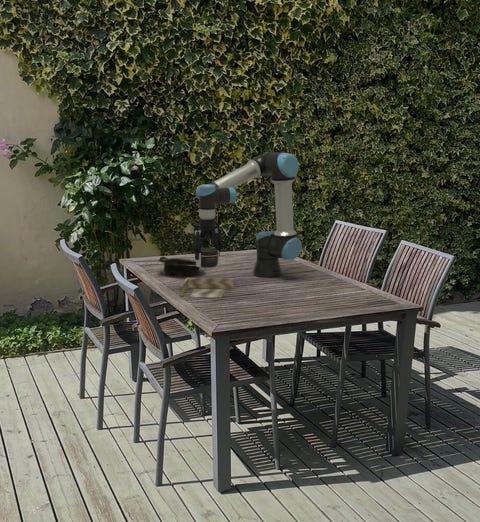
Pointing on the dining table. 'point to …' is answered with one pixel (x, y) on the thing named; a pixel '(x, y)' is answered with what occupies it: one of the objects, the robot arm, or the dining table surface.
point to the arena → (206, 287)
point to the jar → (209, 257)
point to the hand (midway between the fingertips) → (207, 265)
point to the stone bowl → (179, 266)
